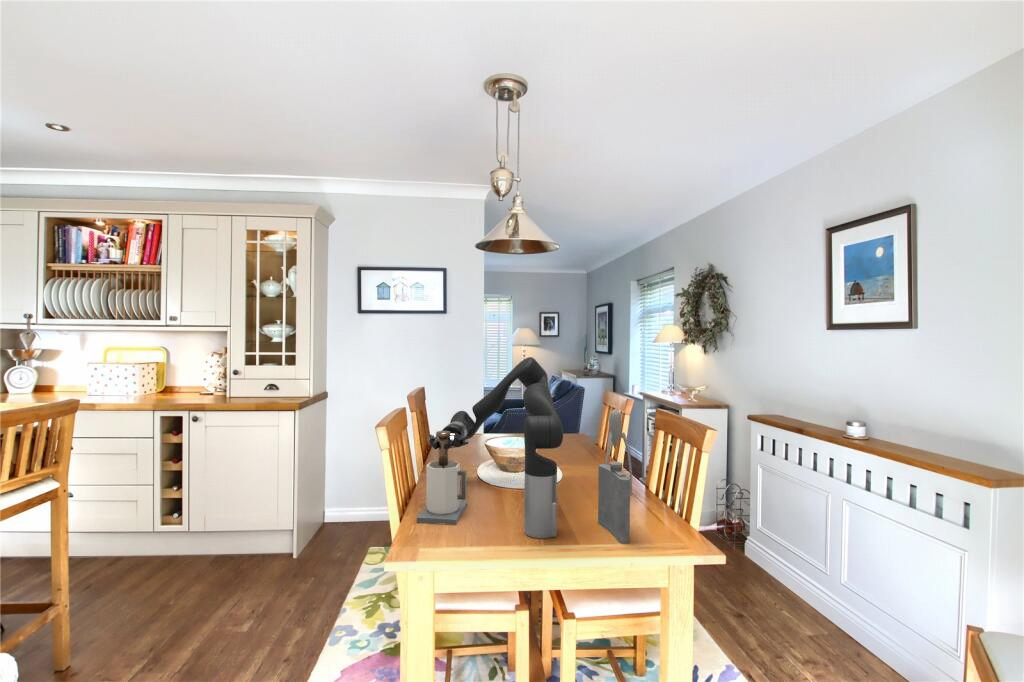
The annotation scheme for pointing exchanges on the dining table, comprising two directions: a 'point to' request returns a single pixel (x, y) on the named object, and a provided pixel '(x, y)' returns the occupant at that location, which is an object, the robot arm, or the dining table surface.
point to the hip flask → (614, 501)
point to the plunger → (442, 448)
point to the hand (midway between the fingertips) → (440, 446)
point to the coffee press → (444, 493)
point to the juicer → (614, 437)
